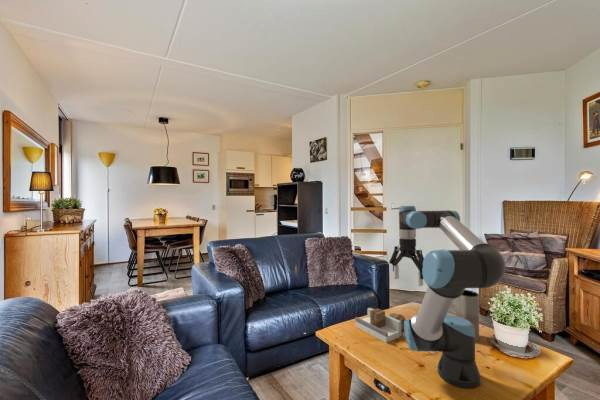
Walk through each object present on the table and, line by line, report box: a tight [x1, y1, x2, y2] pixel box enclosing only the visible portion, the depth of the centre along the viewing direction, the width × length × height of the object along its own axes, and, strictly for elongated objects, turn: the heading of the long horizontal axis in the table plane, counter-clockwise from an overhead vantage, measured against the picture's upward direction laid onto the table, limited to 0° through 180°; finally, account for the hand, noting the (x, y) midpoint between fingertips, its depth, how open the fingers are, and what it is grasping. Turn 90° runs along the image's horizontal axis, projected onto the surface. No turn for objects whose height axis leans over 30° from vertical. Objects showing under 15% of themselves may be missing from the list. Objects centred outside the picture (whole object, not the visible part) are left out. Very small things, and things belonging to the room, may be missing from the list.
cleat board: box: [354, 307, 402, 344], centre depth 155 cm, size 22×12×8 cm, turn 32°
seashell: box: [388, 312, 406, 332], centre depth 158 cm, size 10×9×10 cm
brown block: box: [370, 308, 386, 328], centre depth 154 cm, size 5×7×8 cm
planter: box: [455, 289, 480, 342], centre depth 147 cm, size 10×10×23 cm
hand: (408, 282), depth 137 cm, fingers open, 13 cm apart
